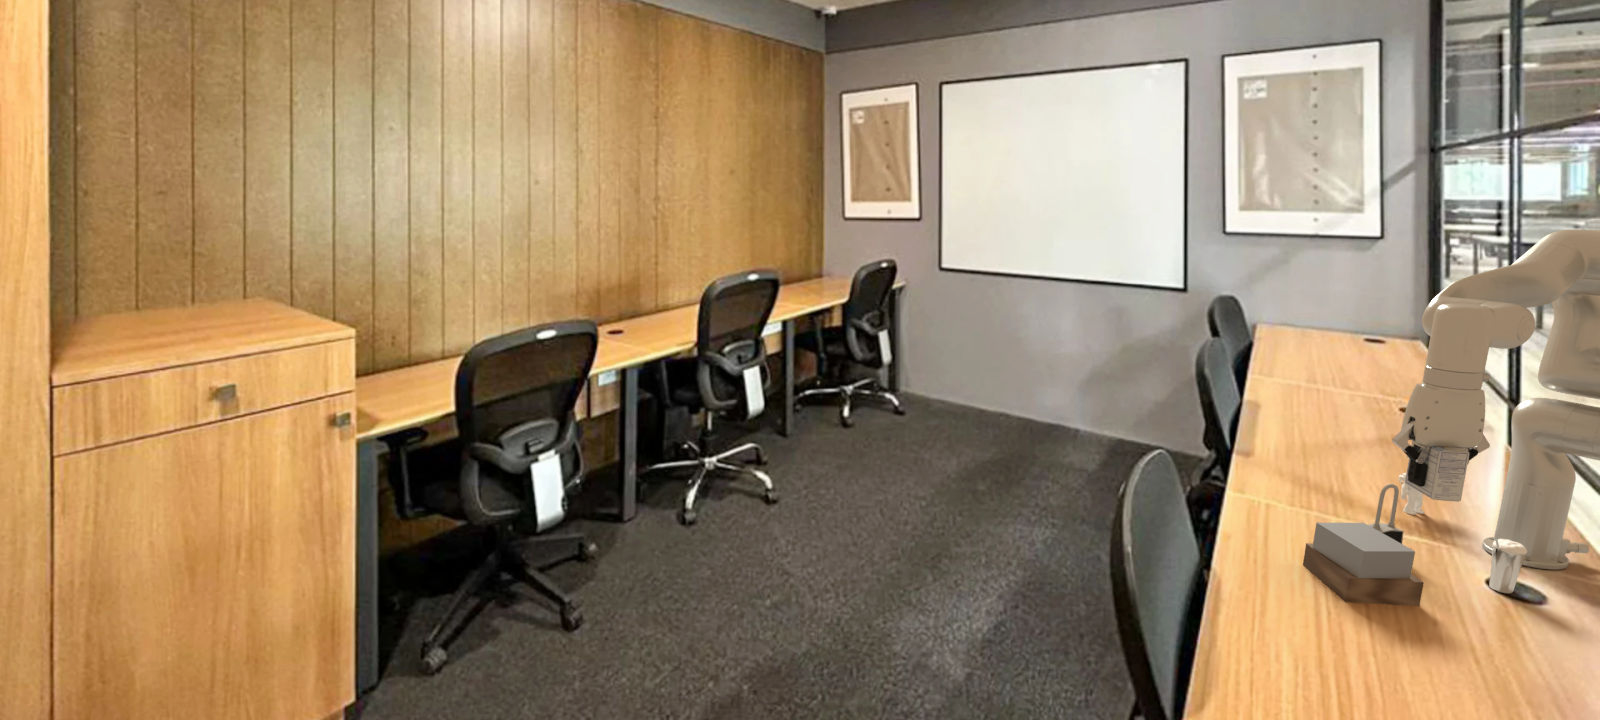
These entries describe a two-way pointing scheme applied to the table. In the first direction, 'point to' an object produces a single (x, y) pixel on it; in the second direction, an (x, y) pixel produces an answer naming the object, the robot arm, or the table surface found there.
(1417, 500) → the blocky character figurine
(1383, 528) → the padlock
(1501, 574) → the milkshake
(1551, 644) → the table surface
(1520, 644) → the table surface
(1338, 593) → the lower block
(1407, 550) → the upper block
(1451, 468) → the medicine box
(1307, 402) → the table surface
